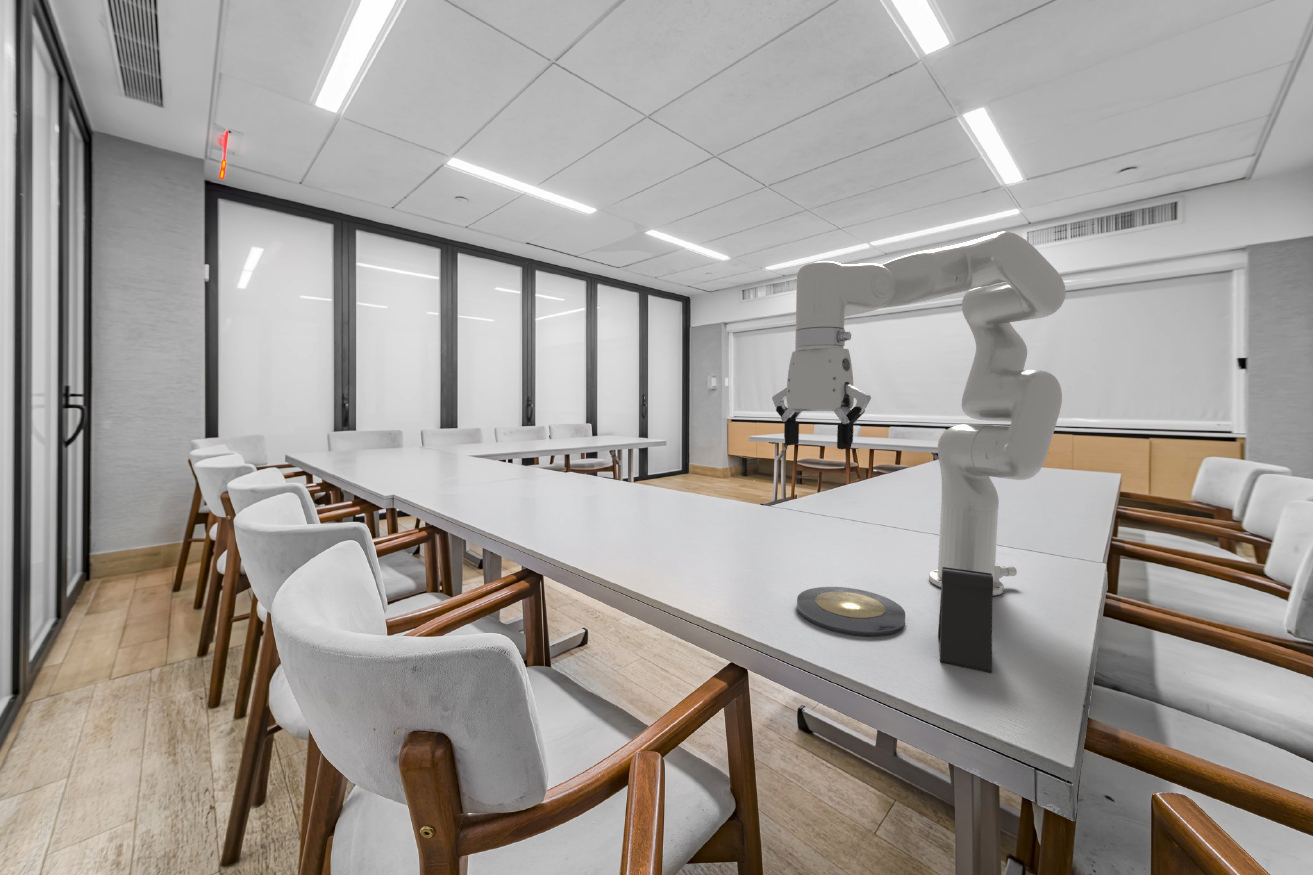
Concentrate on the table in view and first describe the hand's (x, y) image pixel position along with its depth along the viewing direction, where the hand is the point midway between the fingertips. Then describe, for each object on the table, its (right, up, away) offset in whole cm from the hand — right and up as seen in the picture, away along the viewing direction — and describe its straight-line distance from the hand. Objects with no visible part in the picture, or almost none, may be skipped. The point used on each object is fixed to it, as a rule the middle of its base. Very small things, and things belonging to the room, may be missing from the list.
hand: (816, 446), depth 84 cm
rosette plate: (+6, -28, +2) cm, 29 cm away
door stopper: (+17, -30, -12) cm, 36 cm away
